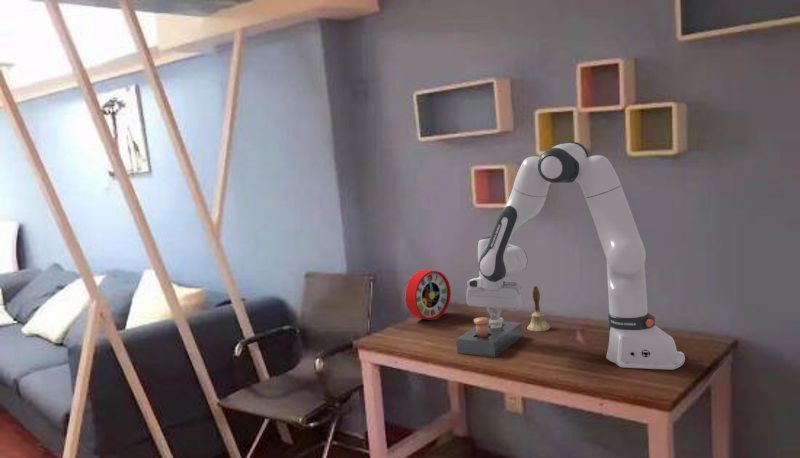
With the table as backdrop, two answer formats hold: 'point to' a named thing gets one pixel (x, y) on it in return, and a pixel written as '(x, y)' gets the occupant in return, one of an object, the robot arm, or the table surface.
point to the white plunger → (496, 323)
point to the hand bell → (537, 315)
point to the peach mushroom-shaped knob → (482, 326)
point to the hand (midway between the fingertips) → (495, 319)
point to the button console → (489, 340)
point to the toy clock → (428, 294)
